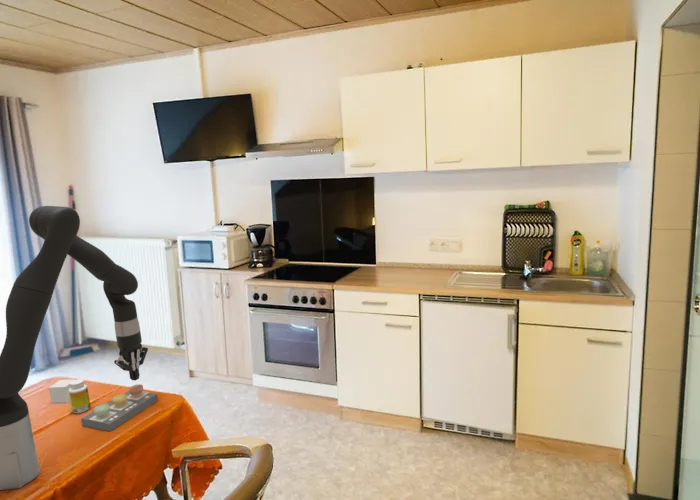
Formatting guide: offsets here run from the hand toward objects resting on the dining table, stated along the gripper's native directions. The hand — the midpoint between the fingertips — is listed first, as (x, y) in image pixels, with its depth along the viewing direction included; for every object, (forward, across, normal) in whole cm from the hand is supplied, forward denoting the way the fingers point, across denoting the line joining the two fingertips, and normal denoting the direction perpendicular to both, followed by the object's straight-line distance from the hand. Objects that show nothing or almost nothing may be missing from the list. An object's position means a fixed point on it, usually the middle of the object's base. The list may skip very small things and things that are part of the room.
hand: (135, 379), depth 161 cm
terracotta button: (+5, 0, 0) cm, 5 cm away
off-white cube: (+9, -5, +29) cm, 31 cm away
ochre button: (+4, -7, 0) cm, 8 cm away
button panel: (+8, -7, 0) cm, 11 cm away
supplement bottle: (+9, -10, +16) cm, 20 cm away
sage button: (+4, -14, 0) cm, 15 cm away
